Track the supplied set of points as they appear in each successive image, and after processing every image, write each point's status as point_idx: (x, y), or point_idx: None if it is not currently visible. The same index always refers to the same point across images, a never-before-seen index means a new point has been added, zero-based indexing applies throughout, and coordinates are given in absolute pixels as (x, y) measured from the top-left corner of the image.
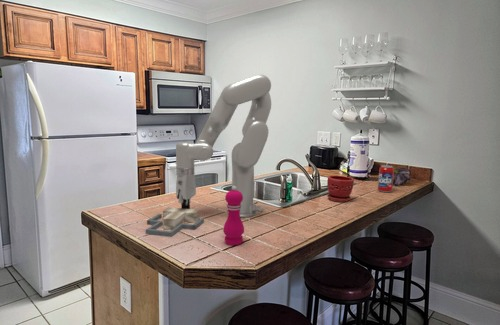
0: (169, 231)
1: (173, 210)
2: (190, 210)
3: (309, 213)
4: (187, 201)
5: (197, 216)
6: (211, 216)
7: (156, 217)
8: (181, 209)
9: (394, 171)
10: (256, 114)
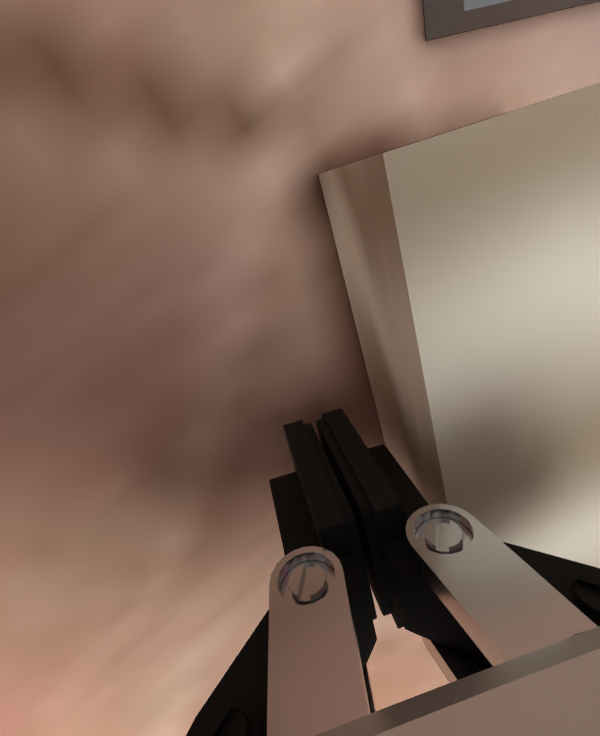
0: None
1: (589, 532)
2: (508, 311)
3: None
4: (468, 591)
5: (443, 133)
6: (48, 35)
7: None
8: (509, 484)
9: None
10: None
